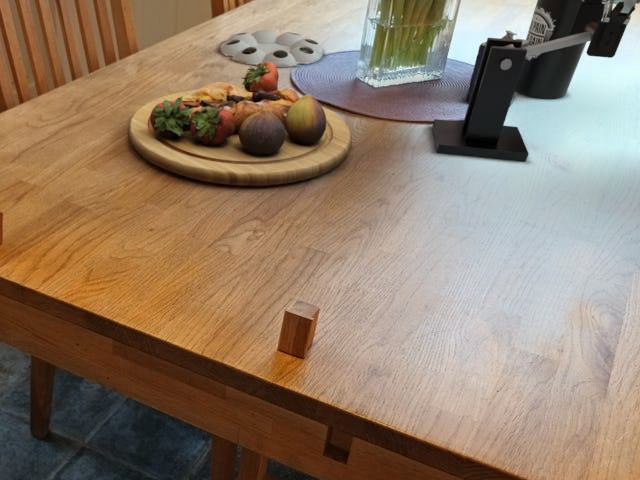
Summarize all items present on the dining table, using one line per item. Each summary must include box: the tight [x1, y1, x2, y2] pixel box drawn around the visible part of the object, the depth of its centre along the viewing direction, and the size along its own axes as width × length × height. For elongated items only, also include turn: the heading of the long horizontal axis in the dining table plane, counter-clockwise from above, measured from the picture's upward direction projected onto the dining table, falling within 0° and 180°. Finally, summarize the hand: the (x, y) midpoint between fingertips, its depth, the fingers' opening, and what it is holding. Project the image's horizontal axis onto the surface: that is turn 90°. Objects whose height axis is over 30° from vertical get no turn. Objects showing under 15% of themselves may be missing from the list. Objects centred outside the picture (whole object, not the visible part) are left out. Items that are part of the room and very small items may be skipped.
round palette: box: [219, 30, 323, 68], centre depth 138 cm, size 20×20×2 cm
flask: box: [464, 29, 529, 104], centre depth 116 cm, size 9×3×11 cm, turn 111°
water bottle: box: [514, 0, 588, 100], centre depth 116 cm, size 10×10×23 cm
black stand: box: [432, 37, 529, 162], centre depth 100 cm, size 12×10×14 cm
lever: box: [502, 22, 597, 57], centre depth 95 cm, size 13×6×2 cm, turn 77°
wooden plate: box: [127, 62, 353, 187], centre depth 102 cm, size 32×32×8 cm
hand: (590, 45), depth 94 cm, fingers open, 9 cm apart
